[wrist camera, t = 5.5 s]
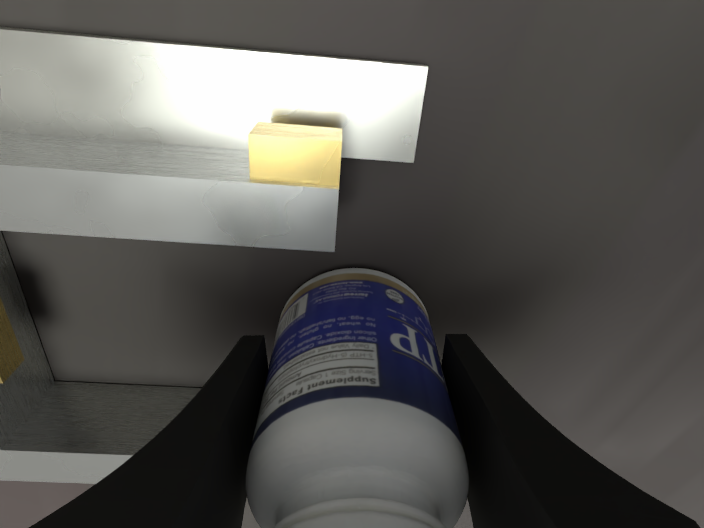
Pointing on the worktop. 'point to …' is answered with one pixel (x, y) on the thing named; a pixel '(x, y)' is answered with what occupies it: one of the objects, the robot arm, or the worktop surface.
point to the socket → (165, 192)
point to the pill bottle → (356, 413)
